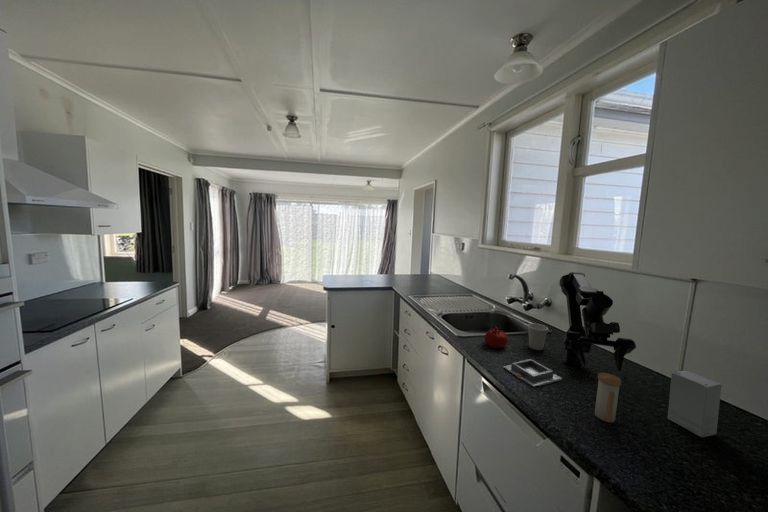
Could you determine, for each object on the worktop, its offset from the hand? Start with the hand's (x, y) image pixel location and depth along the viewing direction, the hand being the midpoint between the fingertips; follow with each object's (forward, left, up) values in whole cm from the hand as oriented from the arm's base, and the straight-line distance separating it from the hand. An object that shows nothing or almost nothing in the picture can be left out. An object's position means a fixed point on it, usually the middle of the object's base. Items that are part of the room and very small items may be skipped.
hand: (601, 367), depth 89 cm
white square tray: (-3, -21, -12) cm, 25 cm away
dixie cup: (-28, -29, -12) cm, 43 cm away
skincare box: (-8, +20, -13) cm, 25 cm away
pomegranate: (-15, -42, -13) cm, 47 cm away
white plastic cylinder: (+6, +3, -12) cm, 14 cm away
